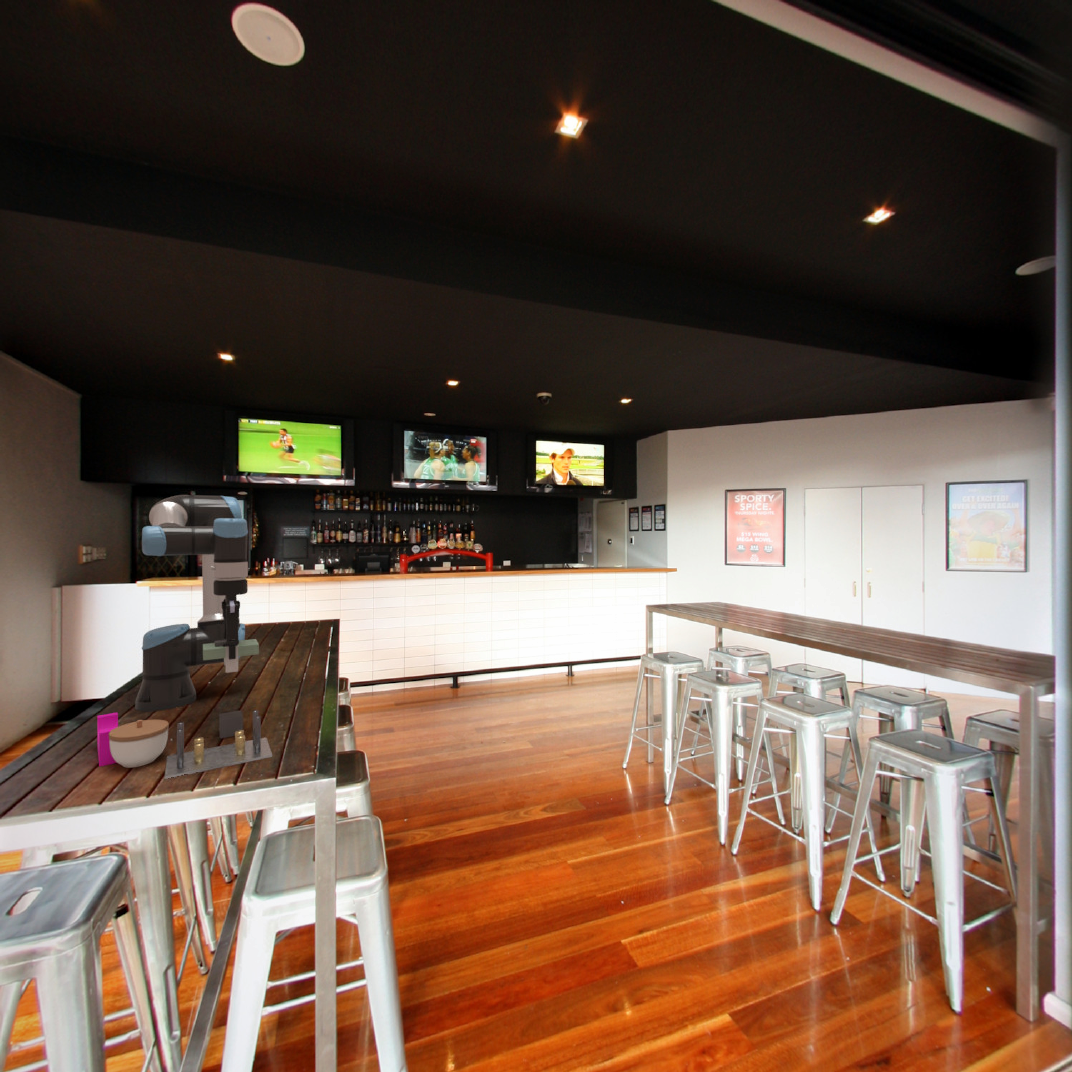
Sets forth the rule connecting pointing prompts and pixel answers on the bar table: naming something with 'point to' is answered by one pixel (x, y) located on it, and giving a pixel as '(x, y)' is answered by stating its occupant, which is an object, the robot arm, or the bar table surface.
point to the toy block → (105, 737)
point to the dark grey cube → (230, 723)
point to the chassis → (217, 752)
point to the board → (219, 651)
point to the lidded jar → (138, 742)
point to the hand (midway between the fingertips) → (230, 667)
